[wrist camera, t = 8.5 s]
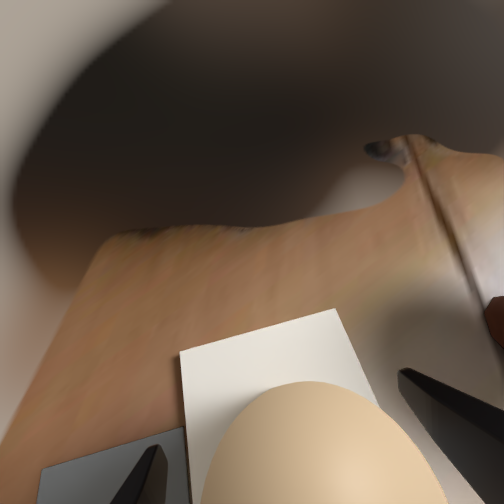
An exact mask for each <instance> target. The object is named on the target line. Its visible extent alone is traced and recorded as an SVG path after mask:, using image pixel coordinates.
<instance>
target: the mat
mask: <svg viewBox="0 0 504 504" xmlns="http://www.w3.org/2000/svg"><path fill="white" fill-rule="evenodd" d="M155 444H160V445H161V446H162V448H163V451H164V453H165V455H166V457H167V460H168V477H167V490H166V502H165V504H190V500H189V487H188V475H187V463H186V451H185V439H184V427H180V428H176V429H173V430H170V431H167V432H163V433H160V434H157V435H153V436H150V437H147V438H143V439H140V440H137V441H134V442H130V443H127V444H124V445H120V446H117V447H114V448H110V449H107V450H104V451H101V452H97V453H94V454H91V455H87V456H84V457H81V458H77V459H74V460H71V461H68V462H64V463H61V464H58V465H54V466H51V467H48V468H44V469H42V472H41V478H40V484H39V491H38V497H37V503H36V504H109V503H110V502H111V500H112V499H113V497H114V496H115V495H116V493H117V492H118V490H119V489H120V487H121V486H122V484H123V483H124V481H125V480H126V478H127V477H128V475H129V474H130V472H131V471H132V469H133V468H134V466H135V465H136V463H137V462H138V460H139V459H140V457H141V456H142V454H143V453H144V451H145V450H146V449H147V448H148V447H149V446H152V445H155Z"/></svg>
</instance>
